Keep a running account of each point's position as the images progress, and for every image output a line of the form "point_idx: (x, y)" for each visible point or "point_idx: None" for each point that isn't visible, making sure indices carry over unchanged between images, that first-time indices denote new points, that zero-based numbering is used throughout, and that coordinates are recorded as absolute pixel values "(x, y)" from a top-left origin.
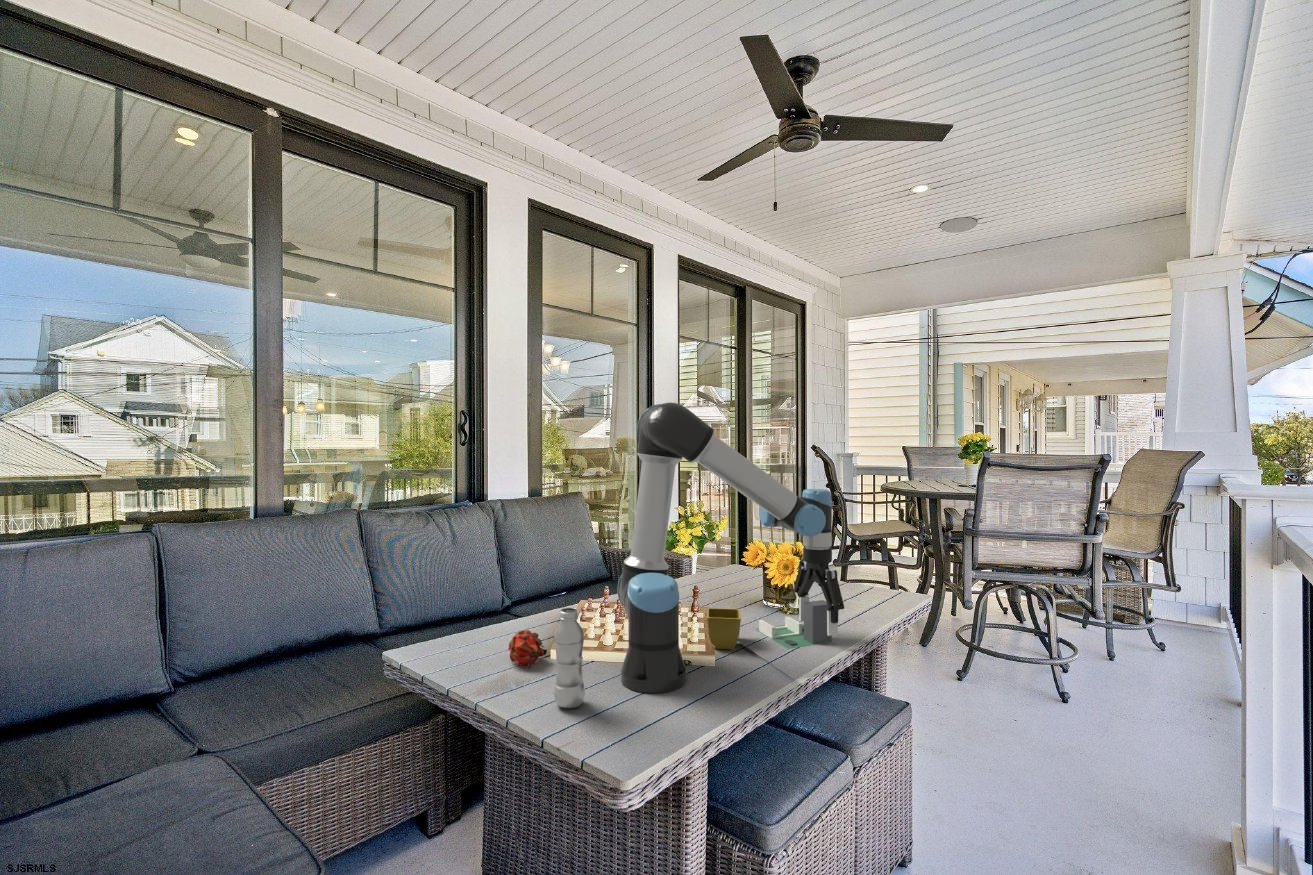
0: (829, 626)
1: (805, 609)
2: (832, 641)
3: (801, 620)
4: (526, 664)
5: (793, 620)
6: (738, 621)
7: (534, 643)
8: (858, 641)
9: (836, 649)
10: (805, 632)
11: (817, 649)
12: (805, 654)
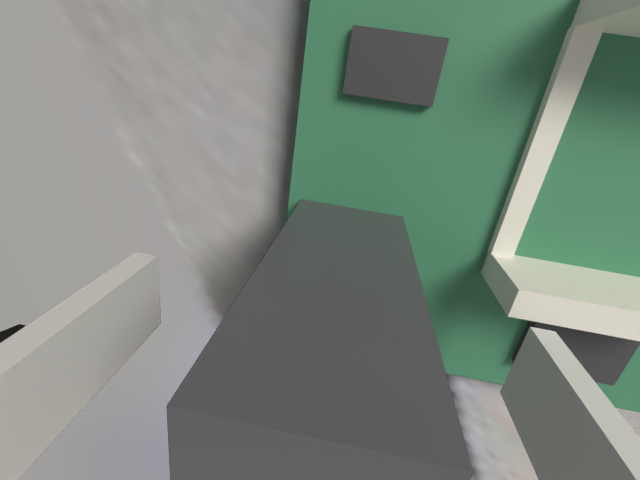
0: (83, 293)
1: (399, 361)
2: None
3: (529, 336)
4: None
5: (623, 319)
6: None
7: None
8: None
9: (239, 289)
10: (386, 232)
11: (283, 206)
12: (247, 74)
